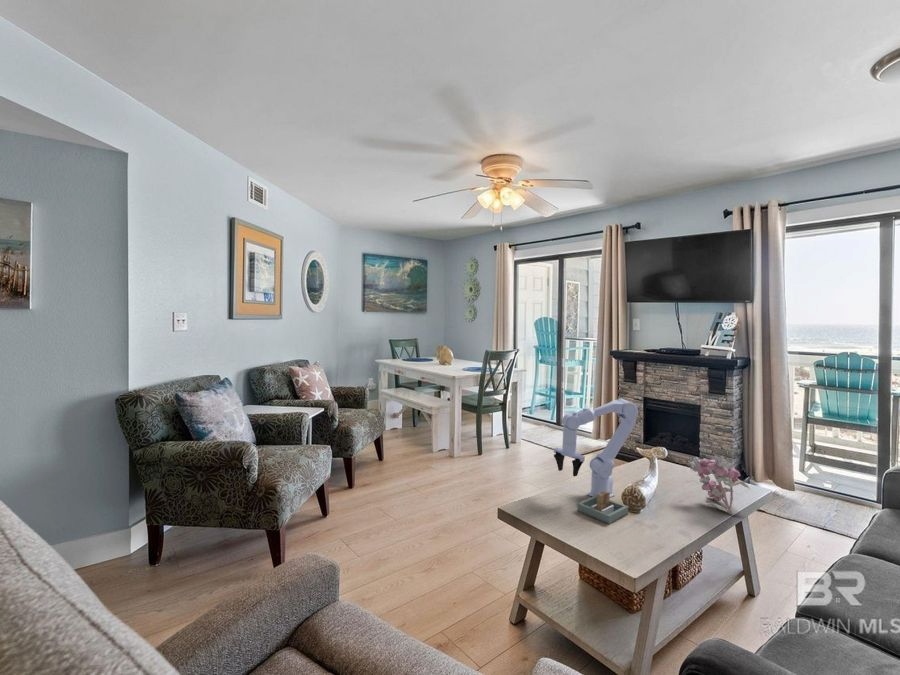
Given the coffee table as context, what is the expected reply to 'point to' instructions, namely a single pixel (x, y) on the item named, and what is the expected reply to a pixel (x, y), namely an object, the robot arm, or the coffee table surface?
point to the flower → (717, 478)
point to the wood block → (603, 500)
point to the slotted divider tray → (605, 515)
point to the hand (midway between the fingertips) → (567, 473)
